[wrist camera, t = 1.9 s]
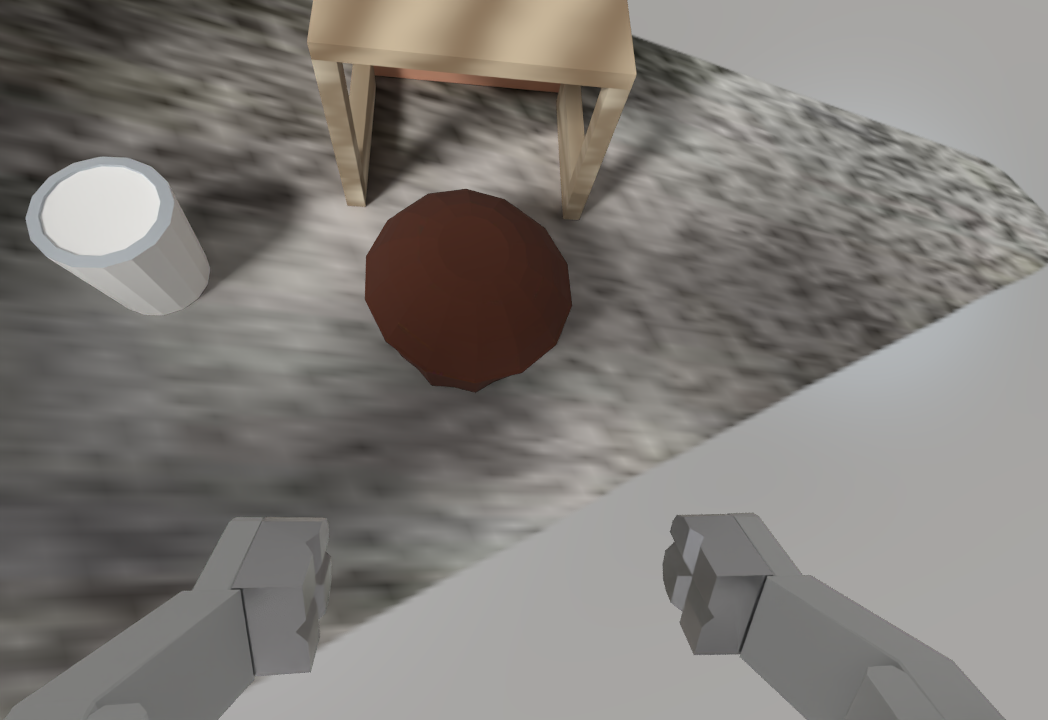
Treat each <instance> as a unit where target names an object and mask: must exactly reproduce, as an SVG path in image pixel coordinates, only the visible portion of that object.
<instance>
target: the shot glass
mask: <svg viewBox="0 0 1048 720" xmlns="http://www.w3.org/2000/svg"><path fill="white" fill-rule="evenodd" d="M25 219H26V223H27V227H28V231H29V236H30V240H31V241H32V242H33V243H34V244H35V245H36V246H37V247H38V248H39V249H40V250H41V252H42V253H43V254H44V255H45V256H46V257H47V258H49V259H50V260H52V261H54V262H55V263H57V264H58V265H60V266H61V267H63V268H65V269H66V270H68V271H69V272H71V273H72V274H74V275H76V276H77V277H79V278H80V279H82V280H83V281H85V282H87V283H88V284H90V285H91V286H93V287H95V288H96V289H98V290H99V291H101V292H102V293H104V294H106V295H107V296H109V297H110V298H112V299H113V300H115V301H117V302H118V303H120V304H121V305H123V306H124V307H126V308H128V309H130V310H133V311H135V312H138V313H140V314H143V315H167V314H170V313H173V312H176V311H179V310H183V309H184V308H186V307H187V306H188V305H190V304H191V303H193V302H194V301H195V300H197V299H198V298H199V297H200V295H201V294H202V292H203V291H204V289H205V288H206V286H207V285H208V280H209V274H210V266H209V263H208V260H207V257H206V254H205V253H204V251H203V249H202V247H201V245H200V243H199V241H198V239H197V237H196V235H195V233H194V231H193V229H192V228H191V226H190V224H189V222H188V220H187V218H186V216H185V214H184V212H183V210H182V208H181V206H180V205H179V203H178V201H177V199H176V197H175V195H174V193H173V191H172V189H171V187H170V185H169V183H168V182H167V181H166V180H165V179H164V178H163V177H162V176H161V175H160V174H159V173H158V172H157V171H156V170H155V169H154V168H152V167H151V166H148V165H146V164H143V163H140V162H138V161H135V160H133V159H130V158H121V157H97V158H93V159H89V160H84V161H80V162H76V163H73V164H71V165H69V166H67V167H66V168H64V169H62V170H60V171H59V172H57V173H55V174H53V175H52V176H50V177H49V178H48V179H47V180H46V181H45V182H44V183H43V185H42V186H41V187H40V188H39V189H38V190H37V191H36V193H35V194H34V195H33V196H32V198H31V202H30V205H29V208H28V212H27V215H26V218H25Z"/></svg>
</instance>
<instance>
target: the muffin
mask: <svg viewBox="0 0 1048 720" xmlns="http://www.w3.org/2000/svg"><path fill="white" fill-rule="evenodd" d="M365 301H366V303H367V305H368V307H369V309H370V311H371V313H372V315H373V317H374V319H375V321H376V323H377V325H378V327H379V329H380V331H381V333H382V335H383V337H384V339H385V341H386V342H387V343H388V344H390V345H391V346H392V347H394V348H395V349H396V350H398V352H399V353H400V354H401V356H402V357H404V358H405V359H406V360H407V361H408V362H410V363H411V364H412V365H413V366H415V367H416V368H417V369H418V370H419V371H420V372H421V373H422V374H423V376H424V377H425V378H426V379H427V380H428V382H429V383H430V384H431V385H432V386H445V387H456V388H459V389H463V390H467V391H471V392H475V393H476V392H477V391H479V390H481V389H482V388H484V387H486V386H487V385H489V384H491V383H492V382H494V381H497V380H500V379H502V378H505V377H508V376H511V375H515V374H519V373H522V372H524V371H525V370H526V369H527V368H528V367H530V366H531V365H532V364H533V363H535V362H536V361H537V360H538V359H539V358H541V357H542V356H543V355H544V354H546V353H547V352H548V351H549V350H550V349H552V348H553V347H554V346H555V345H556V344H557V342H558V339H559V337H560V334H561V332H562V329H563V327H564V324H565V322H566V319H567V317H568V314H569V312H570V309H571V307H572V301H571V292H570V283H569V274H568V265H567V263H566V261H565V260H564V258H563V256H562V255H561V253H560V251H559V250H558V248H557V247H556V245H555V243H554V242H553V240H552V239H551V237H550V235H549V234H548V232H547V231H546V229H545V228H544V227H543V226H541V225H540V224H539V223H537V222H536V221H534V220H533V219H532V218H530V217H529V216H527V215H526V214H525V213H523V212H522V211H520V210H519V209H518V208H516V207H515V206H513V205H512V204H511V203H509V202H507V201H506V200H505V199H502V198H498V197H494V196H491V195H487V194H483V193H479V192H476V191H472V190H468V189H461V190H454V191H446V192H438V193H430V194H427V195H425V196H424V197H422V198H421V199H419V200H418V201H416V202H414V203H413V204H411V205H410V206H408V207H407V208H405V209H404V210H402V211H400V212H399V213H397V214H396V215H395V216H394V217H392V218H390V219H389V220H387V222H386V224H385V225H384V227H383V229H382V231H381V232H380V234H379V236H378V237H377V239H376V241H375V242H374V244H373V246H372V247H371V249H370V251H369V252H368V254H367V256H366V281H365Z"/></svg>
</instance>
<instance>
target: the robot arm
mask: <svg viewBox="0 0 1048 720" xmlns="http://www.w3.org/2000/svg"><path fill="white" fill-rule="evenodd" d="M670 533H671V535H672V537H673V539H674V541H675V542H674V543H673V544H672V545H671V546H670V547H669V548H668V549H667V550H665V555H664V560H663V581H664V585H665V589H666V592H667V595H668V597H669V599H670V602H671V603H672V604H673V605H675V606H676V607H677V608H678V609H680V610H681V611H682V616H681V620H680V625H681V627H682V629H683V632H684V634H685V636H686V638H687V641H688V643H689V645H690V647H691V650H692V651H693V654H694V655H721V654H722V655H724V654H725V655H726V654H740V657H741V658H742V659H743V660H744V661H745V662H746V663H747V664H748V665H749V666H750V667H751V668H752V669H753V670H754V671H755V672H756V673H758V674H759V675H760V676H761V677H762V678H763V679H764V680H765V681H766V682H767V683H768V684H769V685H770V686H771V687H772V688H774V689H775V690H776V691H777V692H778V693H779V694H780V695H781V696H782V697H783V698H784V699H785V700H786V701H787V702H789V703H790V704H791V705H792V706H793V707H794V708H795V709H796V710H797V711H798V712H799V713H800V714H801V715H803V716H804V717H805V718H806V719H807V720H1006V719H1005V718H1004V717H1003V716H1002V715H1001V714H1000V713H999V712H998V711H997V709H996V708H995V707H994V706H993V705H992V704H991V703H990V702H989V700H988V699H987V698H986V697H985V696H984V695H983V694H982V693H981V692H980V690H978V688H977V687H976V686H975V685H974V684H973V683H972V682H971V680H970V679H969V678H968V677H967V676H966V675H965V674H964V672H963V671H961V669H960V668H959V667H958V666H957V665H956V664H955V662H954V661H952V660H951V659H949V658H948V657H946V656H944V655H943V654H941V653H939V652H938V651H936V650H934V649H933V648H931V647H929V646H928V645H926V644H924V643H923V642H921V641H919V640H918V639H916V638H914V637H913V636H911V635H909V634H908V633H906V632H904V631H903V630H901V629H899V628H898V627H896V626H894V625H893V624H891V623H889V622H888V621H886V620H884V619H883V618H881V617H879V616H877V615H876V614H874V613H873V612H871V611H869V610H868V609H866V608H864V607H863V606H861V605H859V604H858V603H856V602H854V601H853V600H851V599H849V598H848V597H846V596H844V595H843V594H841V593H839V592H838V591H836V590H834V589H833V588H831V587H829V586H828V585H826V584H825V583H823V582H821V581H820V580H818V579H816V578H815V577H813V576H811V575H806V576H805V575H802V573H801V572H800V571H799V569H798V568H797V567H796V565H795V564H794V563H793V561H792V560H791V559H790V557H789V556H788V555H787V553H786V552H785V551H784V549H783V548H782V547H781V545H780V544H779V543H778V541H777V540H776V539H775V537H774V536H773V535H772V533H771V532H770V531H769V529H768V528H767V526H766V525H765V524H764V523H763V521H762V520H761V519H760V517H759V516H757V515H756V514H754V513H729V514H706V515H677V516H676V517H675V518H674V520H673V522H672V526H671V530H670ZM328 540H329V526H328V520H327V519H326V518H308V517H266V518H264V517H235V518H233V519H232V520H231V521H230V522H229V523H228V524H227V526H226V528H225V530H224V531H223V533H222V535H221V537H220V539H219V541H218V543H217V545H216V546H215V548H214V550H213V552H212V554H211V556H210V558H209V559H208V561H207V563H206V565H205V567H204V569H203V571H202V572H201V574H200V576H199V578H198V580H197V582H196V584H195V585H194V587H193V589H192V591H181V592H180V593H178V594H177V595H175V596H174V597H172V598H171V599H169V600H168V601H167V602H165V603H164V604H162V605H161V606H159V607H158V608H156V609H155V610H153V611H152V612H150V613H149V614H148V615H146V616H145V617H143V618H142V619H140V620H139V621H137V622H136V623H134V624H133V625H132V626H130V627H129V628H127V629H126V630H124V631H123V632H121V633H120V634H118V635H117V636H115V637H114V638H113V639H111V640H110V641H108V642H107V643H105V644H104V645H102V646H101V647H99V648H98V649H96V650H95V651H94V652H92V653H91V654H89V655H88V656H86V657H85V658H83V659H82V660H80V661H79V662H78V663H76V664H75V665H73V666H72V667H70V668H69V669H67V670H66V671H64V672H63V673H61V674H60V675H59V676H57V677H56V678H54V679H53V680H51V681H50V682H48V683H47V684H45V685H44V686H42V687H41V688H40V689H38V690H37V691H35V692H34V693H32V694H31V695H29V696H28V697H26V698H25V699H24V700H22V701H21V702H19V703H18V704H16V705H15V706H13V708H12V709H11V711H10V712H9V713H8V715H7V716H6V717H5V719H4V720H218V719H219V718H220V717H221V716H222V714H223V713H224V712H225V711H226V710H227V709H228V708H229V707H230V706H231V705H232V704H233V702H234V701H235V700H236V699H237V698H238V697H239V696H240V695H241V694H242V693H243V691H244V690H245V689H246V688H247V687H248V686H249V685H250V684H251V683H252V682H253V680H254V676H264V675H278V674H291V673H305V672H311V669H312V665H313V661H314V657H315V654H316V650H317V646H318V642H319V638H320V630H319V619H320V618H321V617H322V616H323V615H324V614H325V613H326V609H327V605H328V601H329V595H330V587H331V571H332V566H331V556H330V555H329V554H328V553H327V552H326V548H327V544H328Z"/></svg>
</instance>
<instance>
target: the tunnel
mask: <svg viewBox="0 0 1048 720" xmlns="http://www.w3.org/2000/svg"><path fill="white" fill-rule="evenodd" d="M307 43H308V47H309V51H310V56H311V60H312V64H313V68H314V72H315V76H316V80H317V84H318V88H319V92H320V96H321V100H322V104H323V108H324V112H325V116H326V120H327V124H328V128H329V132H330V137H331V141H332V145H333V149H334V153H335V157H336V161H337V165H338V169H339V173H340V177H341V181H342V185H343V189H344V193H345V197H346V201H347V205H348V206H361V207H365V206H366V195H367V183H368V172H369V160H370V149H371V137H372V126H373V114H374V103H375V92H376V82H375V74H374V66H384V67H395V68H405V69H415V70H426V71H436V72H447V73H457V74H468V75H478V76H488V77H499V78H509V79H520V80H530V81H540V82H551V83H561V85H560V89H559V93H558V97H557V101H556V108H557V125H558V142H559V159H560V177H561V194H562V211H563V219H570V220H579V219H580V216H581V214H582V211H583V209H584V206H585V204H586V201H587V199H588V196H589V194H590V191H591V189H592V186H593V183H594V181H595V178H596V176H597V173H598V171H599V168H600V166H601V163H602V161H603V158H604V156H605V153H606V151H607V148H608V146H609V143H610V141H611V138H612V136H613V133H614V130H615V128H616V125H617V123H618V120H619V118H620V115H621V113H622V110H623V108H624V105H625V103H626V100H627V98H628V95H629V93H630V90H631V88H632V85H633V83H634V80H635V78H636V67H635V59H634V51H633V43H632V35H631V27H630V19H629V11H628V4H627V0H313V6H312V12H311V19H310V26H309V33H308V39H307ZM342 62H343V63H353V68H352V77H351V86H350V95H349V96H348V91H347V85H346V80H345V75H344V69H343V64H342ZM373 65H374V66H373ZM581 85H582V86H592V87H602V88H601V91H600V94H599V97H598V100H597V103H596V106H595V109H594V112H593V115H592V118H591V121H590V124H589V126H588V129H587V132H586V135H585V136H584V123H583V110H582V98H581Z"/></svg>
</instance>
